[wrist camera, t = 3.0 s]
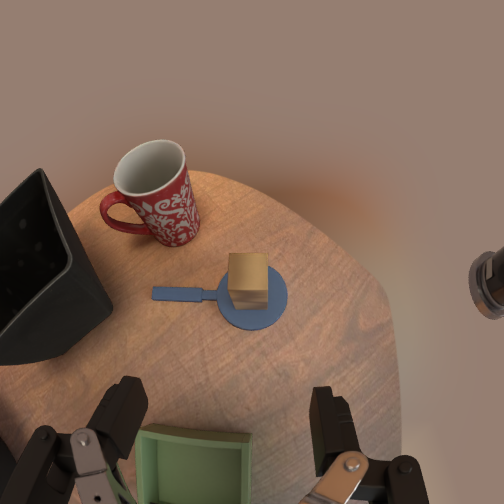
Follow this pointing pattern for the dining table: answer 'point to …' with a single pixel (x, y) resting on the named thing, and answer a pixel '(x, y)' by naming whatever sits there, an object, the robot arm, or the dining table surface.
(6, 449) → the bowl
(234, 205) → the dining table surface
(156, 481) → the green storage bin
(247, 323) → the blue ping pong paddle
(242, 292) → the wooden block
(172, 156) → the mug
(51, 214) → the flower pot
